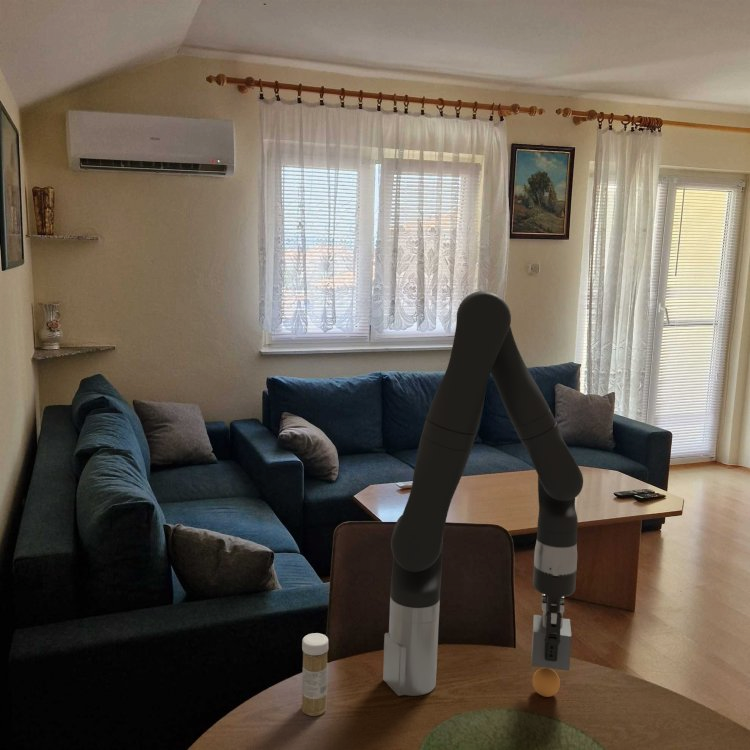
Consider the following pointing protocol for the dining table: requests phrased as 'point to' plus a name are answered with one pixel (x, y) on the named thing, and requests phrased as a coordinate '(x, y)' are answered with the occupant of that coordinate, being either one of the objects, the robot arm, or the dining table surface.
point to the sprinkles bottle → (314, 674)
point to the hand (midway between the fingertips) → (550, 649)
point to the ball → (546, 682)
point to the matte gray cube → (539, 645)
